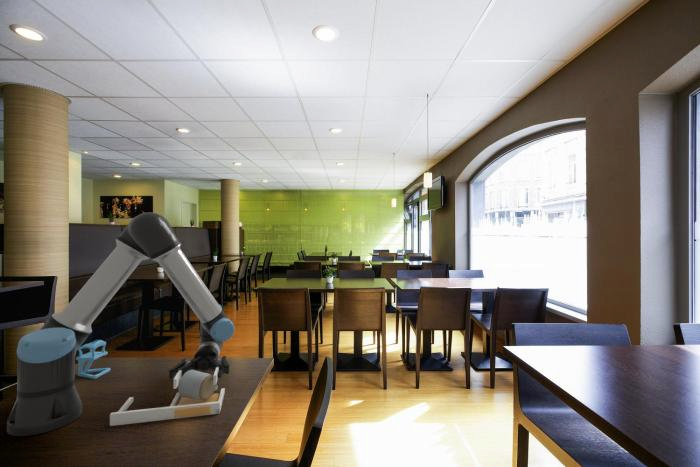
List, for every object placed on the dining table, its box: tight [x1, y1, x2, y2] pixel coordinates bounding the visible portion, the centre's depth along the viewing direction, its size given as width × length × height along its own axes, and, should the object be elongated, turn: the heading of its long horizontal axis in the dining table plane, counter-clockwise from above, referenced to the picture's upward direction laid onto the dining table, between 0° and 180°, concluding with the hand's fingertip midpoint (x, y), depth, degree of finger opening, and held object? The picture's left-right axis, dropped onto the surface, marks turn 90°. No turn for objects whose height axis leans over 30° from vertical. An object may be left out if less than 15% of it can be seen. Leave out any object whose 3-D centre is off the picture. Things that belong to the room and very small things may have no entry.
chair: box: [75, 339, 111, 380], centre depth 124 cm, size 8×8×12 cm
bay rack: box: [109, 387, 226, 427], centre depth 100 cm, size 27×14×3 cm, turn 104°
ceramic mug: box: [177, 370, 219, 400], centre depth 104 cm, size 11×8×8 cm
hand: (195, 382), depth 98 cm, fingers closed on ceramic mug, 10 cm apart
